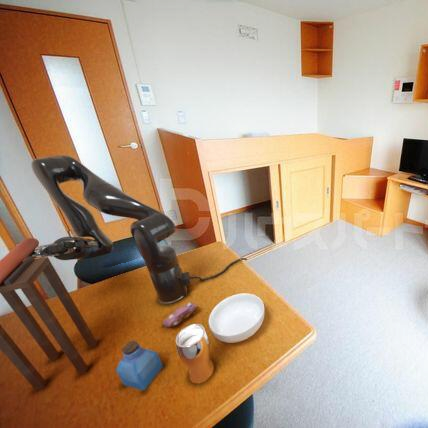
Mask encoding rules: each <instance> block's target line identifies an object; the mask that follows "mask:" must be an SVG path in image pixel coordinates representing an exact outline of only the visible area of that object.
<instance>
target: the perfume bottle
mask: <svg viewBox="0 0 428 428" xmlns="http://www.w3.org/2000/svg"><path fill="white" fill-rule="evenodd" d="M121 352H122V356H123V357H122V358H121V359H120V360H119V362H118V365H117V367H116V369H115V372H116V373H117V375H118V377H119V378H120V380H121V382H122V384H123V385H124V386H125V387H128V388H129V387H130V388H133V389H137V390H140V391H145V390H146V389H147V388H148V387H149V385H150V384H151V383H152V381H154V379H155V378H156V376H158V374H159V373H160V371H161V370H162V369H163V368H164V366H163V363H162V361H161V358H160V356H159V354H158V352H157V351H155V350H151V349H147V348H143V347H141V345H140V344H139V343H138V341H137V340H130V341H128V342H126V343H125V344H124V345H123V346H122V348H121Z"/></svg>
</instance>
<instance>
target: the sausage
mask: <svg viewBox="0 0 428 428" xmlns="http://www.w3.org/2000/svg"><path fill="white" fill-rule="evenodd" d="M37 246H40V241H39V239H37V238H34V237H27V238H24V239H22V240H21V241H20V242H19V243H18V244H17V245H16V246H14V248H13V249H11V250H10V251H9V252H8V253H7V254H6V255H4V256H3V257H2V258H1V259H0V284H1V283H2V282H3V281H4V280H5V279H6V278H7V277H8V276H9V275H10V274H11V273H12V272H13V271H14V270H15V269H16V268H17V267H18V266H19V265H20V264H21V263H22V262H23V261H25V260H26V258H27V257H28V256H29V254H30V253H31V252H32V251H33V250H34V249H35V248H36V247H37Z"/></svg>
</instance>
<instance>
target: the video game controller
mask: <svg viewBox="0 0 428 428" xmlns="http://www.w3.org/2000/svg"><path fill="white" fill-rule="evenodd" d="M197 307H198V306H197V305H196V304H195V303H194V302H188V303H186V304H185V305H182V306H179V307H178V308H176V309H175V310H174V312H172V313H171V314H170V315H169V316H168V317H167V318H166V319H164V320H162V324H163V327H165V328H172V327H173V326H177V325H179V324H180V323H181V322H182V321H183V320H182V317H183V319H187V318H189V317H190V316H191V314H192V313H193V312H194V311H195V310H196V308H197Z"/></svg>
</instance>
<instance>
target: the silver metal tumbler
mask: <svg viewBox="0 0 428 428" xmlns="http://www.w3.org/2000/svg"><path fill="white" fill-rule="evenodd" d="M205 329H206V328H205V327H204V325H202V324H200V323H192V324H189V325H187V326H184V327H183V328H182V329H181V330H180V331H179V332H178V333H177V334H176V336H175V344H176V345H175V346H176V349H177V353H178V356H179V359H180V360H181V362H182V363H183V364H184V366H185V367H186V368H187V369H188V371H189V373H188V374H189V376H188V377H189V380H190V381H191V382H192V383H193V384H202V383H205V382H206V381H208V380H209V378H211V376H212V375H213V373H214V370H215V366H214V363H213V361H212V360H211V352H210V350H211V349H210V347H211V346H210V339H209V337H208V334H207V332H206V330H205Z"/></svg>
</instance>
